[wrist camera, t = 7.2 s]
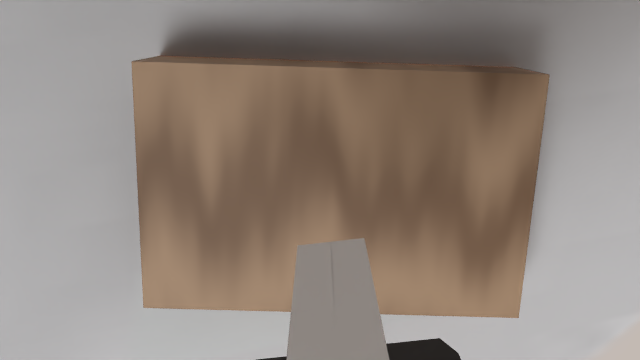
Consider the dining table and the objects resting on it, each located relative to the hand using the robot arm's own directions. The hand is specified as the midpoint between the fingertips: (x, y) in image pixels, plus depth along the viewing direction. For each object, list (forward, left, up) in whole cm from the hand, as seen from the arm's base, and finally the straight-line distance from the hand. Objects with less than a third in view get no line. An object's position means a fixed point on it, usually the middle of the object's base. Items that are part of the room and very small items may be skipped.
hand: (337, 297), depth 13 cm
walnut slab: (-1, -7, -10) cm, 12 cm away
